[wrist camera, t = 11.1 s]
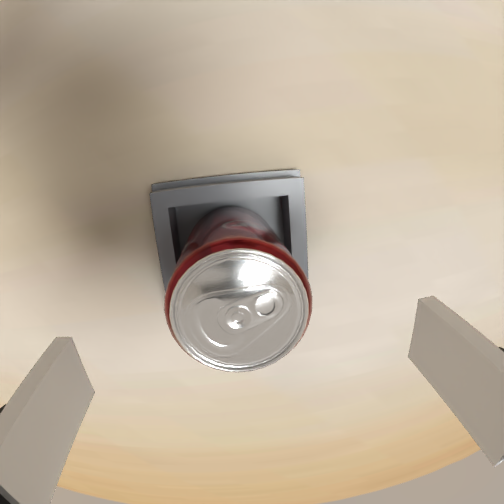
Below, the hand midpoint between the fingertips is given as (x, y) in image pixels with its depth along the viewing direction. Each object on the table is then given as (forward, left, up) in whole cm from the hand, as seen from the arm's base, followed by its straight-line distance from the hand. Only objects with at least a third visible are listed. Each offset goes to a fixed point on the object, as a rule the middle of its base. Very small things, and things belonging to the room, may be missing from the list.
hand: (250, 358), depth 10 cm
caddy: (0, 0, -17) cm, 17 cm away
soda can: (0, 0, -16) cm, 16 cm away
